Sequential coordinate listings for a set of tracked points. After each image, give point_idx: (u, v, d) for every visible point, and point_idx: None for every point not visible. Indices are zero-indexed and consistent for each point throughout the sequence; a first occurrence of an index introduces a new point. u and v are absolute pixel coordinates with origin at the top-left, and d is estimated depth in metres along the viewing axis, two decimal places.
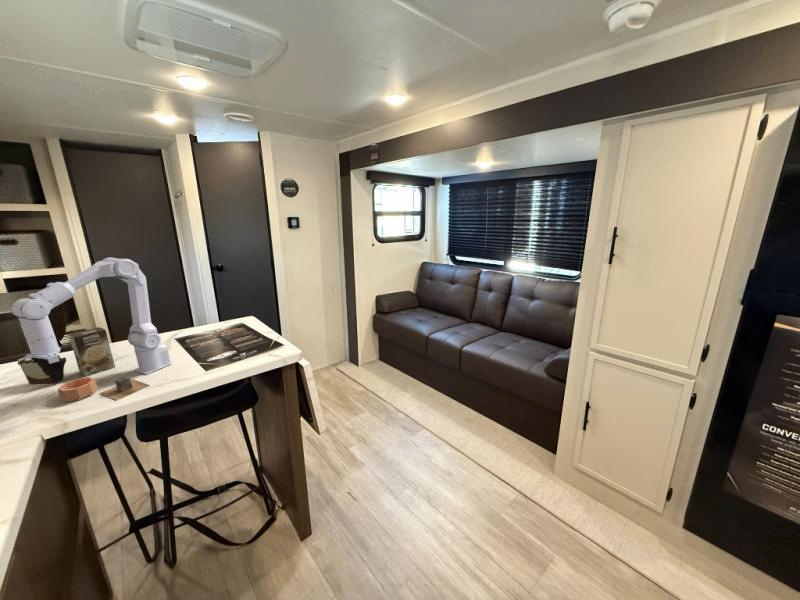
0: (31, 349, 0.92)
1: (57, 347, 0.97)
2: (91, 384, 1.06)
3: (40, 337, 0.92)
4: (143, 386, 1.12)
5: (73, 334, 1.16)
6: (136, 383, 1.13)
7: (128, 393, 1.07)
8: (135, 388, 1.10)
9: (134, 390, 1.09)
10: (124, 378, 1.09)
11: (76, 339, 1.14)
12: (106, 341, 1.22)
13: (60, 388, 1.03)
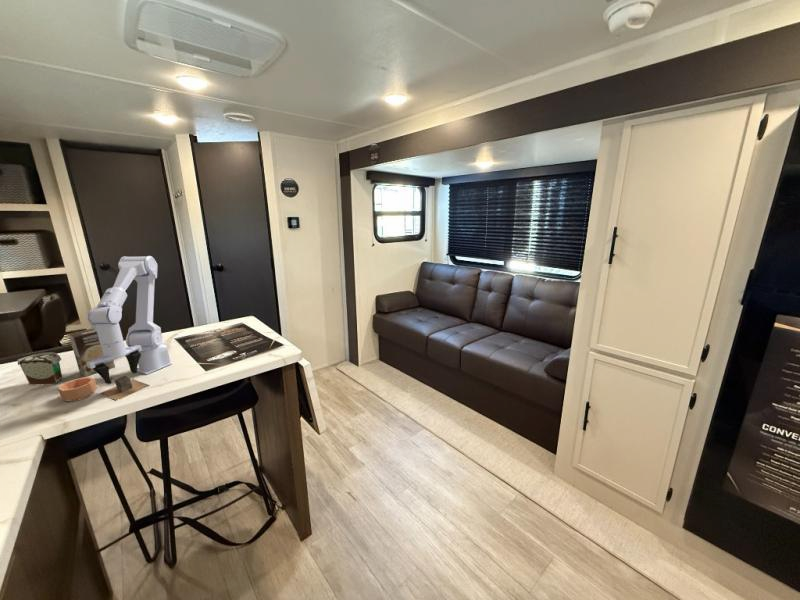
0: None
1: (113, 354, 1.04)
2: (91, 384, 1.06)
3: (118, 339, 1.04)
4: (143, 386, 1.12)
5: (73, 334, 1.16)
6: (136, 383, 1.13)
7: (128, 393, 1.07)
8: (135, 388, 1.10)
9: (134, 390, 1.09)
10: (124, 378, 1.09)
11: (76, 339, 1.14)
12: None
13: (60, 388, 1.03)
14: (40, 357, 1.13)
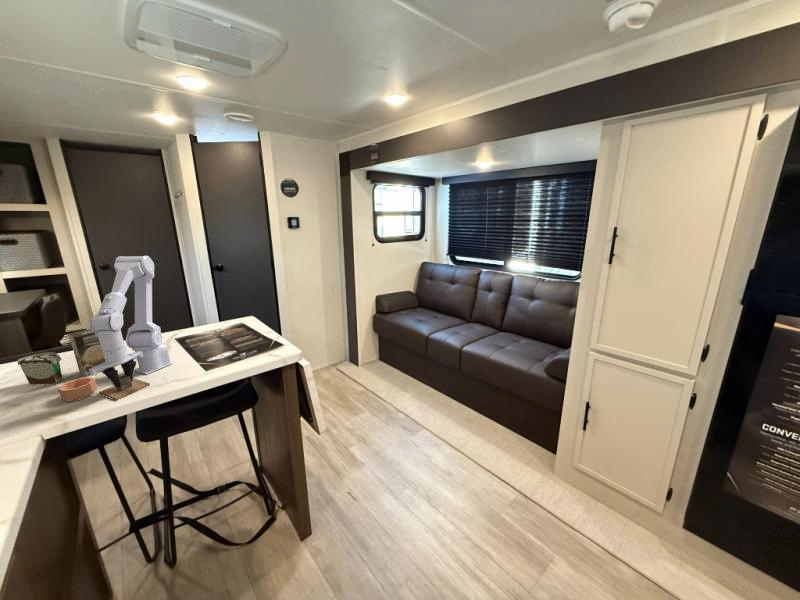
0: None
1: (115, 361, 1.04)
2: (91, 384, 1.06)
3: (120, 346, 1.05)
4: (142, 384, 1.12)
5: (73, 334, 1.16)
6: (136, 382, 1.13)
7: (128, 391, 1.07)
8: (135, 386, 1.10)
9: (134, 388, 1.09)
10: (124, 377, 1.09)
11: (76, 339, 1.14)
12: None
13: (60, 388, 1.03)
14: (40, 357, 1.13)
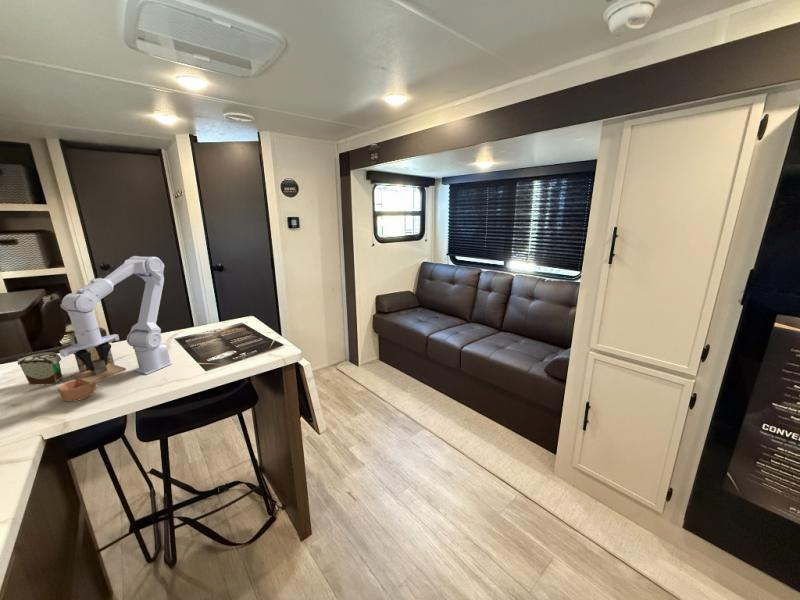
0: None
1: (88, 343, 1.01)
2: (91, 384, 1.06)
3: (89, 328, 1.00)
4: (118, 369, 1.08)
5: (73, 334, 1.16)
6: (112, 367, 1.10)
7: (102, 375, 1.04)
8: (110, 371, 1.07)
9: (109, 373, 1.05)
10: (98, 360, 1.05)
11: (76, 339, 1.14)
12: None
13: (60, 388, 1.03)
14: (40, 357, 1.13)
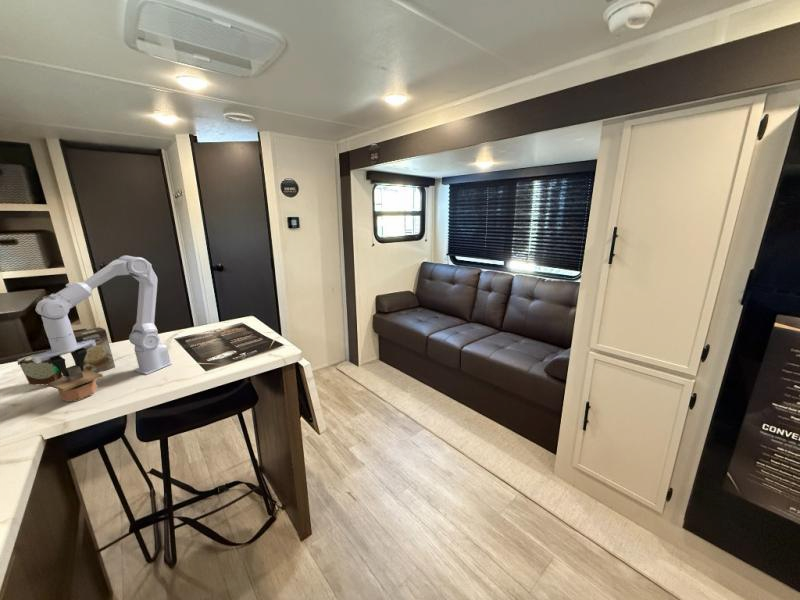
0: None
1: (62, 349, 0.99)
2: (91, 384, 1.06)
3: (59, 335, 0.98)
4: (94, 375, 1.07)
5: None
6: (88, 373, 1.08)
7: (77, 382, 1.02)
8: (86, 377, 1.05)
9: (84, 379, 1.04)
10: (73, 367, 1.04)
11: (76, 339, 1.14)
12: (106, 341, 1.22)
13: None
14: None
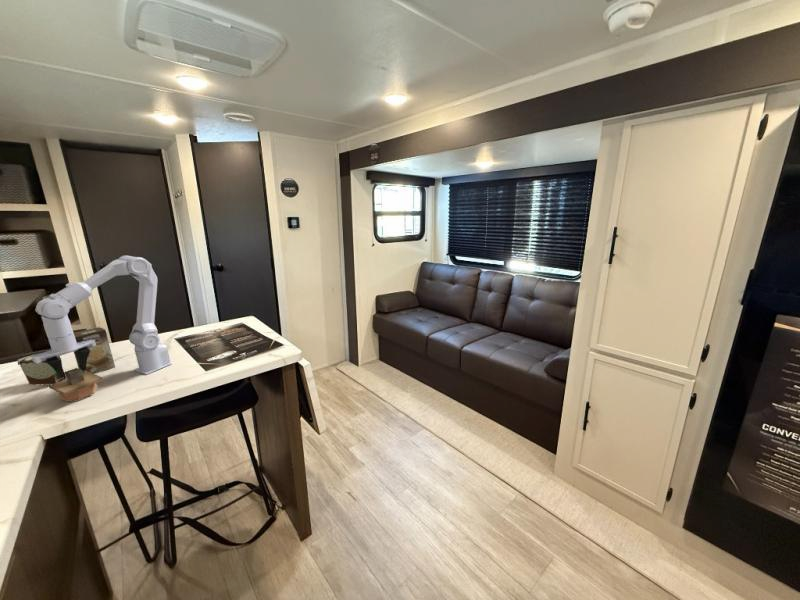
0: None
1: (62, 349, 0.99)
2: (91, 384, 1.06)
3: (59, 335, 0.98)
4: (96, 378, 1.07)
5: None
6: (89, 376, 1.09)
7: (78, 385, 1.03)
8: (87, 380, 1.06)
9: (85, 382, 1.04)
10: (75, 370, 1.04)
11: (76, 339, 1.14)
12: (106, 341, 1.22)
13: None
14: None
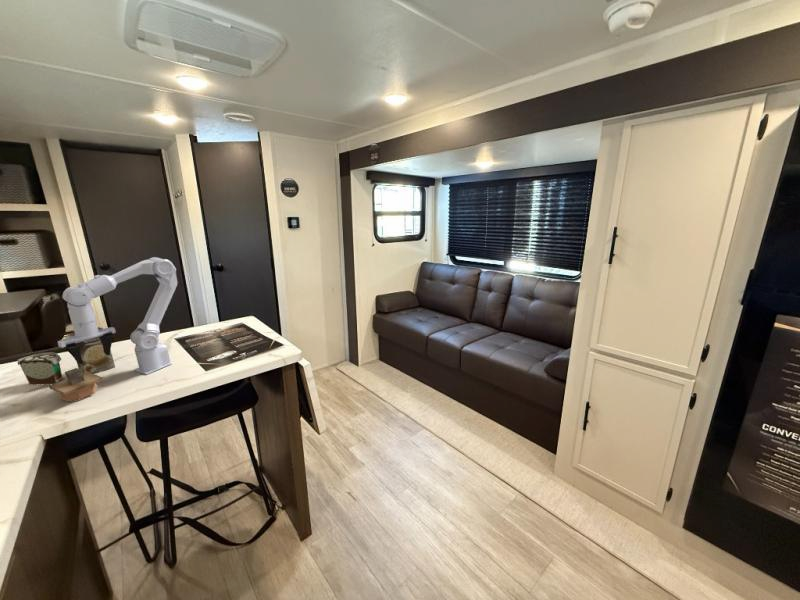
0: None
1: (85, 335, 1.05)
2: (91, 384, 1.06)
3: (81, 322, 1.04)
4: (96, 378, 1.07)
5: (73, 334, 1.16)
6: (89, 376, 1.09)
7: (78, 386, 1.03)
8: (87, 380, 1.06)
9: (85, 382, 1.04)
10: (75, 370, 1.04)
11: None
12: None
13: None
14: (40, 357, 1.13)
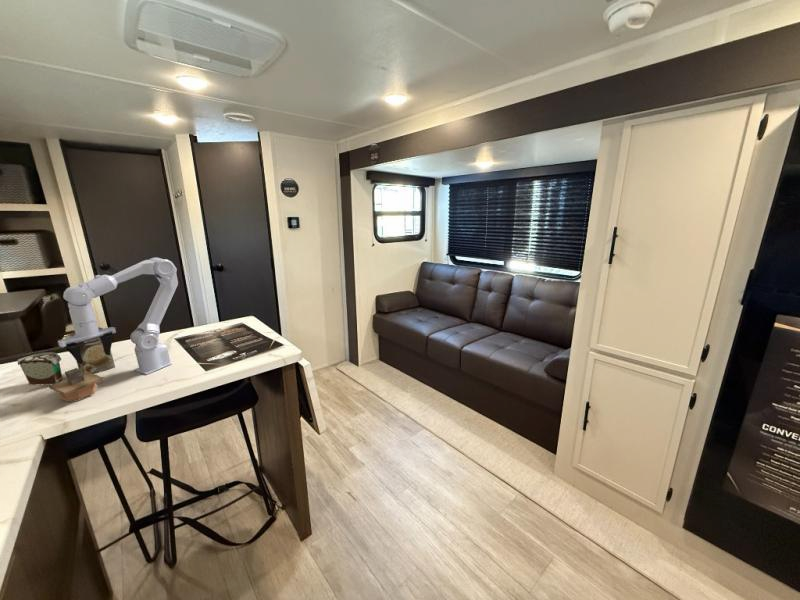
0: None
1: (85, 334, 1.05)
2: None
3: (82, 321, 1.04)
4: (96, 378, 1.07)
5: (73, 334, 1.16)
6: (90, 376, 1.09)
7: (78, 386, 1.03)
8: (87, 381, 1.06)
9: (85, 383, 1.04)
10: (75, 370, 1.04)
11: None
12: None
13: None
14: (40, 357, 1.13)
